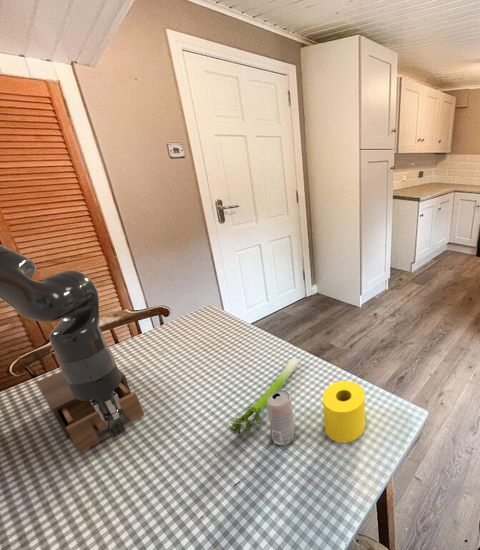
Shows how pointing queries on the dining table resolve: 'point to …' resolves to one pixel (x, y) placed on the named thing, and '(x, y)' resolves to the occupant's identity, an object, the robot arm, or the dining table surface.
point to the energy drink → (281, 417)
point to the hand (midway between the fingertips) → (118, 433)
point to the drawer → (98, 418)
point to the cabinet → (62, 396)
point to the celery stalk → (263, 400)
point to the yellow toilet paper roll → (344, 411)
